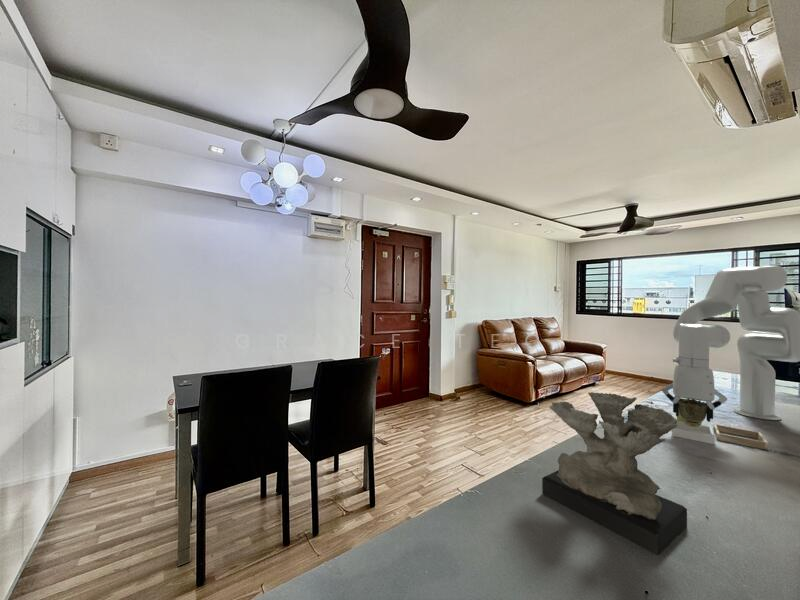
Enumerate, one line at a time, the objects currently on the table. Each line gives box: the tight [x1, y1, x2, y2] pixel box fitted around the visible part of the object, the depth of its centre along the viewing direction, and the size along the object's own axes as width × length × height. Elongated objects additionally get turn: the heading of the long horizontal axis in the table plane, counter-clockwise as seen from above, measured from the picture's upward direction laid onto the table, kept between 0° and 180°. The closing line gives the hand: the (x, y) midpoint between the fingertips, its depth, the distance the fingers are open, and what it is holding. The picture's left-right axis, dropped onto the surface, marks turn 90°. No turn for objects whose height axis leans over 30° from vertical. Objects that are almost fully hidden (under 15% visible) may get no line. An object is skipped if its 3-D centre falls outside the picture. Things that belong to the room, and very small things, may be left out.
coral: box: [541, 391, 688, 556], centre depth 72 cm, size 25×20×22 cm
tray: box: [671, 421, 716, 445], centre depth 110 cm, size 10×10×2 cm
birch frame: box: [712, 423, 769, 451], centre depth 108 cm, size 11×11×2 cm
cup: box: [678, 398, 708, 427], centre depth 110 cm, size 8×7×8 cm
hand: (692, 417), depth 110 cm, fingers closed on cup, 7 cm apart
